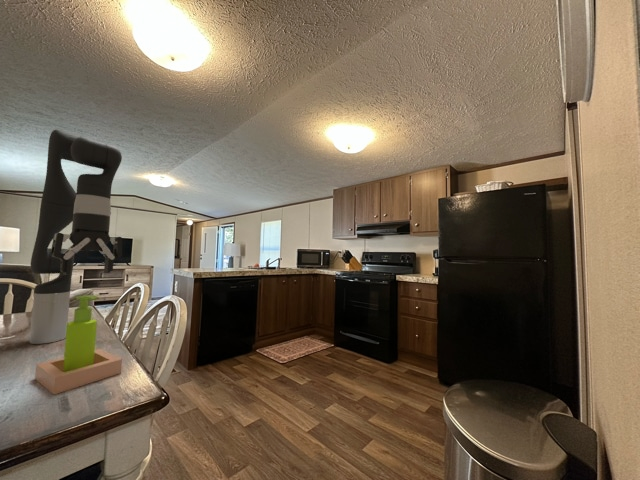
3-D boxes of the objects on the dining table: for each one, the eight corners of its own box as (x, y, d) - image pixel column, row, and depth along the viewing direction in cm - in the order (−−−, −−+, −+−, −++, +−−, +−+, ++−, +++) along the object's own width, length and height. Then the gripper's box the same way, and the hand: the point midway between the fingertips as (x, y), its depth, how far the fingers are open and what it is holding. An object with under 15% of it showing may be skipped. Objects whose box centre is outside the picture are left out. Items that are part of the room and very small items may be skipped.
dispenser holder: (34, 378, 65) (36, 363, 65) (98, 361, 76) (99, 348, 77) (53, 394, 58) (55, 378, 58) (121, 372, 69) (121, 359, 69)
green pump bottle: (77, 379, 64) (84, 298, 65) (56, 376, 65) (63, 296, 66) (102, 369, 70) (107, 294, 71) (81, 366, 71) (87, 293, 72)
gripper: (117, 218, 78) (113, 272, 77) (51, 210, 66) (45, 274, 65) (129, 216, 74) (125, 273, 73) (61, 208, 62) (55, 276, 61)
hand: (87, 273), depth 69 cm, fingers open, 8 cm apart
